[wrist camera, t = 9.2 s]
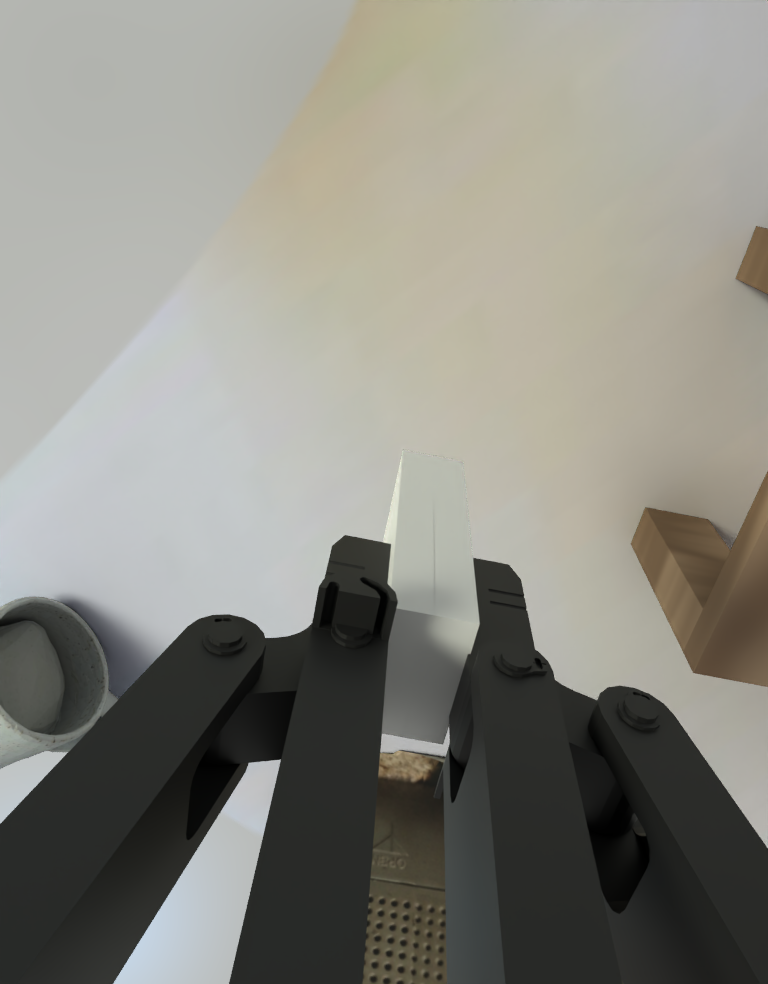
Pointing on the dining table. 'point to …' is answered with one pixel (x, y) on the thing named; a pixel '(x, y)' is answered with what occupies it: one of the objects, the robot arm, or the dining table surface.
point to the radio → (407, 875)
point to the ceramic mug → (48, 678)
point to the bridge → (715, 565)
